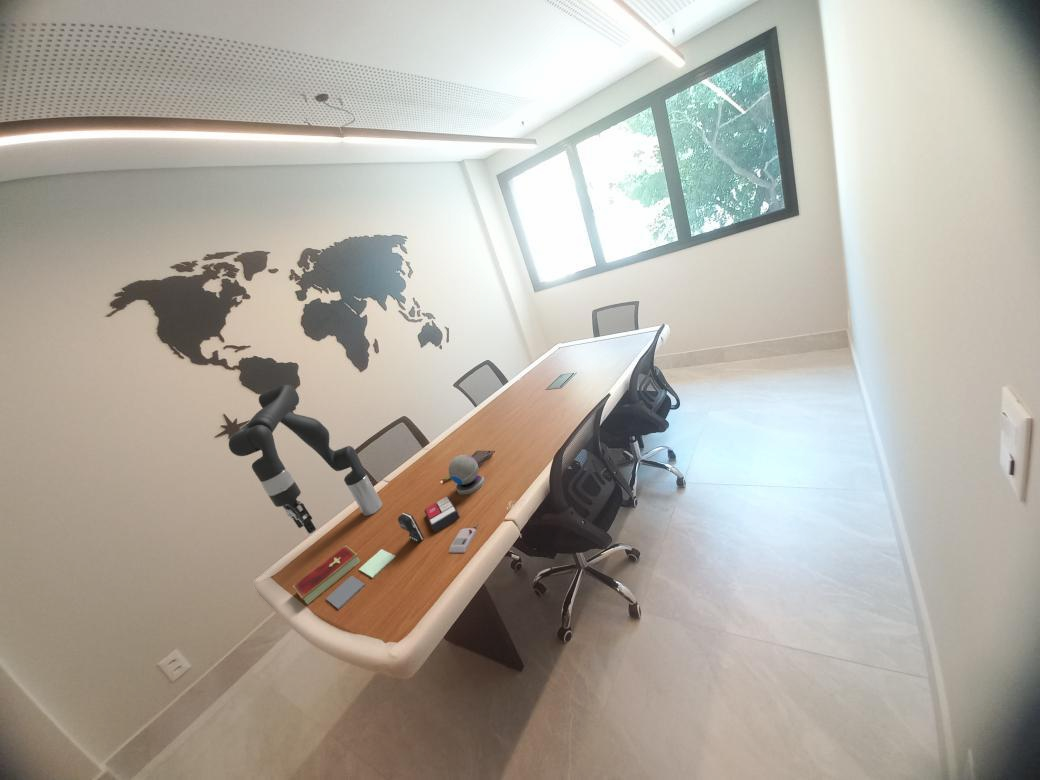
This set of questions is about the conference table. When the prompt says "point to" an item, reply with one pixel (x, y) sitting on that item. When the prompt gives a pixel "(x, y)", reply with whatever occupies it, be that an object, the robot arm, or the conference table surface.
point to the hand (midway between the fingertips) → (307, 528)
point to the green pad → (377, 563)
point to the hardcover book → (326, 574)
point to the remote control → (463, 540)
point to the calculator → (441, 514)
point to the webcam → (465, 474)
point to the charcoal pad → (345, 592)
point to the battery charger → (410, 527)
